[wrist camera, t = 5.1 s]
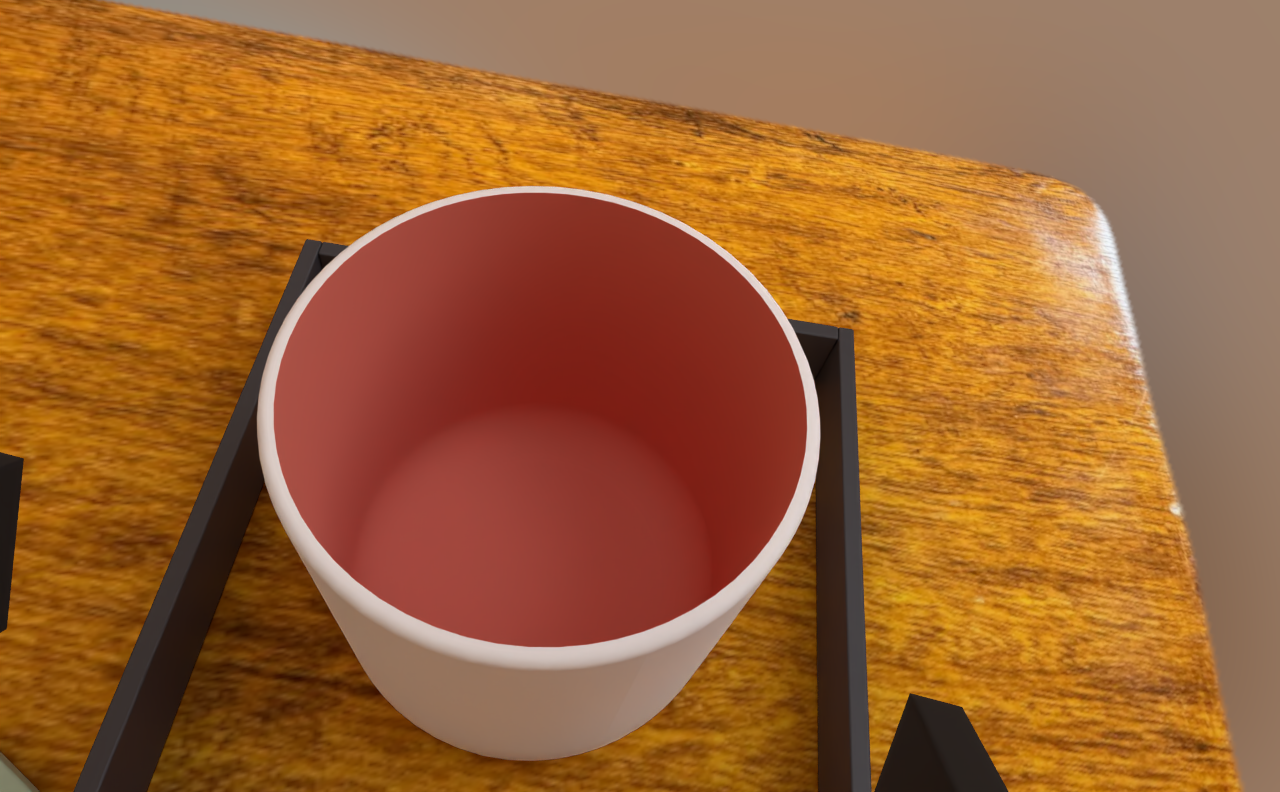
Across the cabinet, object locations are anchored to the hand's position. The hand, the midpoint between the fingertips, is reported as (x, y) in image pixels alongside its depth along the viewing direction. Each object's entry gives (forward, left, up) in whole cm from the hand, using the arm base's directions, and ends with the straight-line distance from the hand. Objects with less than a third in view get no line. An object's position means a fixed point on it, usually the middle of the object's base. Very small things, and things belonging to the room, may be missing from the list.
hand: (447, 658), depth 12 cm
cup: (+2, -5, -10) cm, 12 cm away
